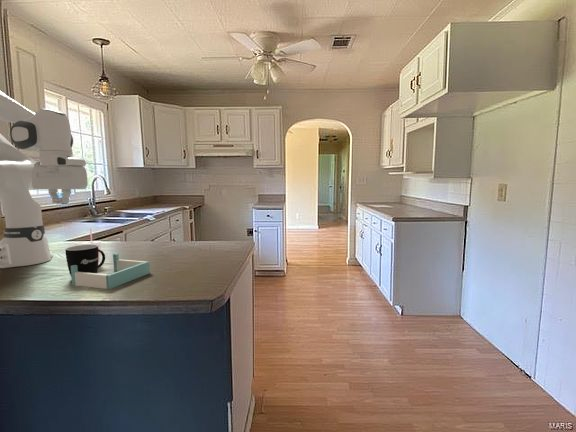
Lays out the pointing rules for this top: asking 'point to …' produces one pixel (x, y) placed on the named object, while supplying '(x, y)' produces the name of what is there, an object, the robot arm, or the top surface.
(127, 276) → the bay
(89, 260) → the mug
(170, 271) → the top surface
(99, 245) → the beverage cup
